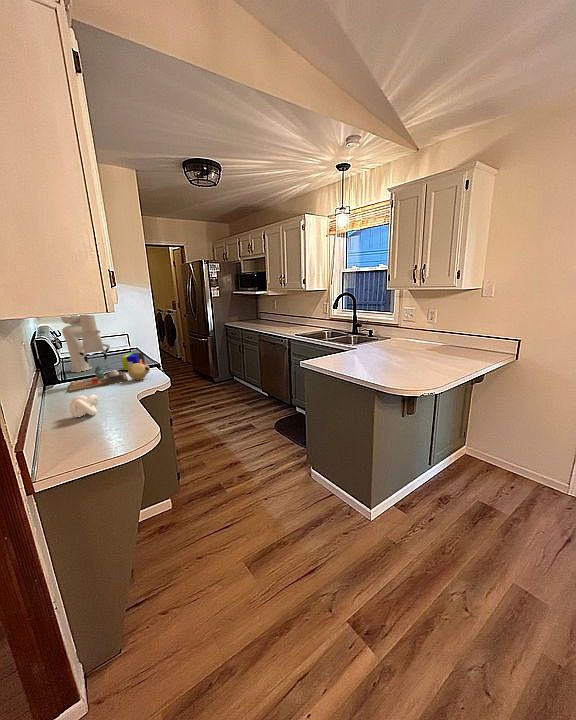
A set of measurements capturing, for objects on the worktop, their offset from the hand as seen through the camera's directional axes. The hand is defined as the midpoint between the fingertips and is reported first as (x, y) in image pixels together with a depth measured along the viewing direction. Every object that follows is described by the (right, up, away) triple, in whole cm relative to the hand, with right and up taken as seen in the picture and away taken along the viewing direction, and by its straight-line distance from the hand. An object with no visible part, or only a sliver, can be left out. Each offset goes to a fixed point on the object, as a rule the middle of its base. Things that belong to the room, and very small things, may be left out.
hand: (96, 361), depth 195 cm
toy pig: (+27, -12, +1) cm, 29 cm away
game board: (+2, -13, 0) cm, 13 cm away
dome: (+12, -9, -1) cm, 15 cm away
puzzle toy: (+12, -6, +25) cm, 29 cm away
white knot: (+23, -25, -46) cm, 57 cm away
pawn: (+1, -11, +3) cm, 11 cm away
